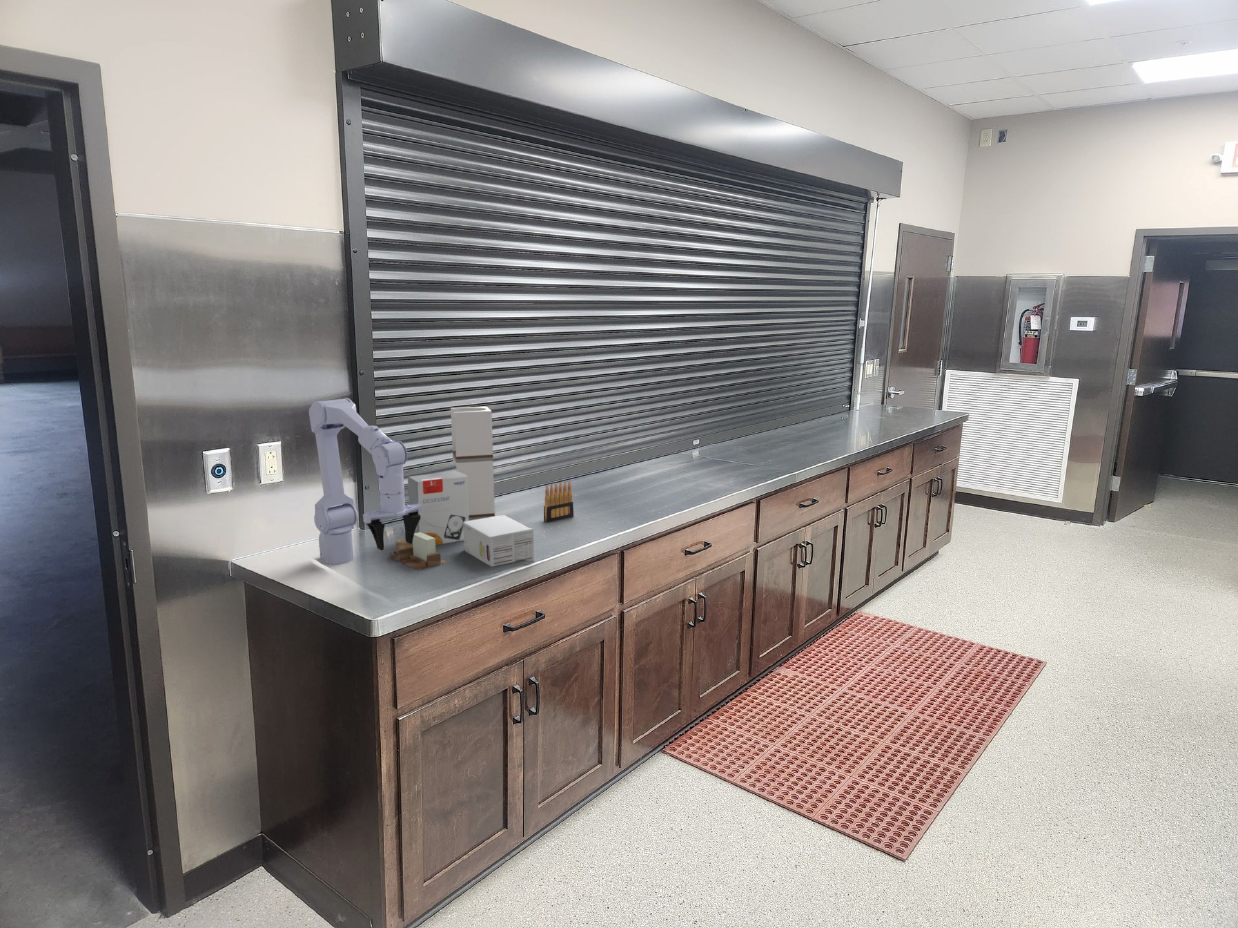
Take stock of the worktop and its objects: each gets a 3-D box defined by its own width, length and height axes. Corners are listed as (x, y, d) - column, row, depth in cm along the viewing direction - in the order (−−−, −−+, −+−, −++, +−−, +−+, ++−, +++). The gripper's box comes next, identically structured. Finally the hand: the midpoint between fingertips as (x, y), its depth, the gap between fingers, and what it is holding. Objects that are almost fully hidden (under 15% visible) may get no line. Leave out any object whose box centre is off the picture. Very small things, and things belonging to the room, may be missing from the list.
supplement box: (463, 553, 222) (462, 521, 220) (505, 545, 229) (504, 514, 227) (490, 570, 208) (489, 536, 206) (534, 561, 216) (534, 527, 214)
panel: (413, 558, 214) (412, 533, 213) (421, 556, 216) (420, 532, 214) (428, 565, 209) (426, 540, 207) (436, 563, 210) (435, 538, 209)
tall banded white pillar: (489, 510, 265) (486, 406, 258) (495, 519, 255) (491, 411, 248) (455, 513, 262) (450, 408, 255) (458, 522, 252) (454, 412, 245)
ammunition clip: (547, 522, 252) (546, 485, 249) (543, 521, 253) (542, 484, 251) (573, 516, 259) (573, 480, 256) (570, 515, 260) (570, 479, 257)
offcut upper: (396, 548, 216) (395, 541, 215) (415, 543, 220) (414, 536, 219) (402, 551, 213) (402, 543, 213) (421, 546, 218) (421, 538, 217)
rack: (389, 559, 216) (389, 546, 215) (419, 552, 222) (418, 539, 221) (418, 573, 205) (417, 559, 205) (448, 565, 211) (447, 551, 211)
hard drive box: (418, 550, 224) (414, 481, 220) (409, 543, 230) (406, 476, 226) (470, 541, 232) (468, 475, 228) (461, 535, 238) (458, 470, 234)
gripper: (371, 500, 185) (374, 555, 188) (427, 490, 195) (429, 543, 197) (357, 494, 190) (361, 549, 193) (412, 485, 200) (415, 537, 203)
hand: (395, 545), depth 195 cm, fingers open, 7 cm apart
